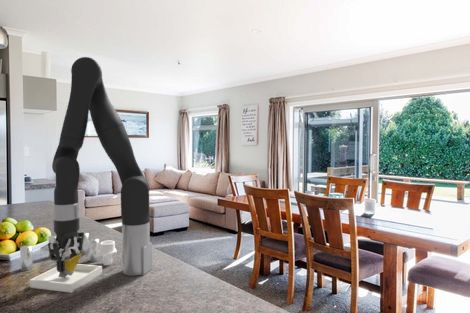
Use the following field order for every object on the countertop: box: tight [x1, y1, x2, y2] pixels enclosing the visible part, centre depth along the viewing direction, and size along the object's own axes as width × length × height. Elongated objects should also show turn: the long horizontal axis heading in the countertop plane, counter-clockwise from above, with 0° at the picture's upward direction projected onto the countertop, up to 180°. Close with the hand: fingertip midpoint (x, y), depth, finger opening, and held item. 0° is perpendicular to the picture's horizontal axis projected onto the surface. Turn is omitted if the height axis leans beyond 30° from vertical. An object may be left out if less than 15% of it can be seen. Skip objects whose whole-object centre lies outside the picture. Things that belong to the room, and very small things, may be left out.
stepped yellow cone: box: [58, 253, 82, 278], centre depth 109 cm, size 5×5×10 cm
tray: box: [29, 263, 103, 294], centre depth 108 cm, size 15×15×2 cm
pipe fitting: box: [98, 239, 118, 266], centre depth 123 cm, size 6×7×8 cm
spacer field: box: [19, 232, 101, 272], centre depth 125 cm, size 22×23×8 cm
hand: (67, 268), depth 108 cm, fingers closed on stepped yellow cone, 5 cm apart
